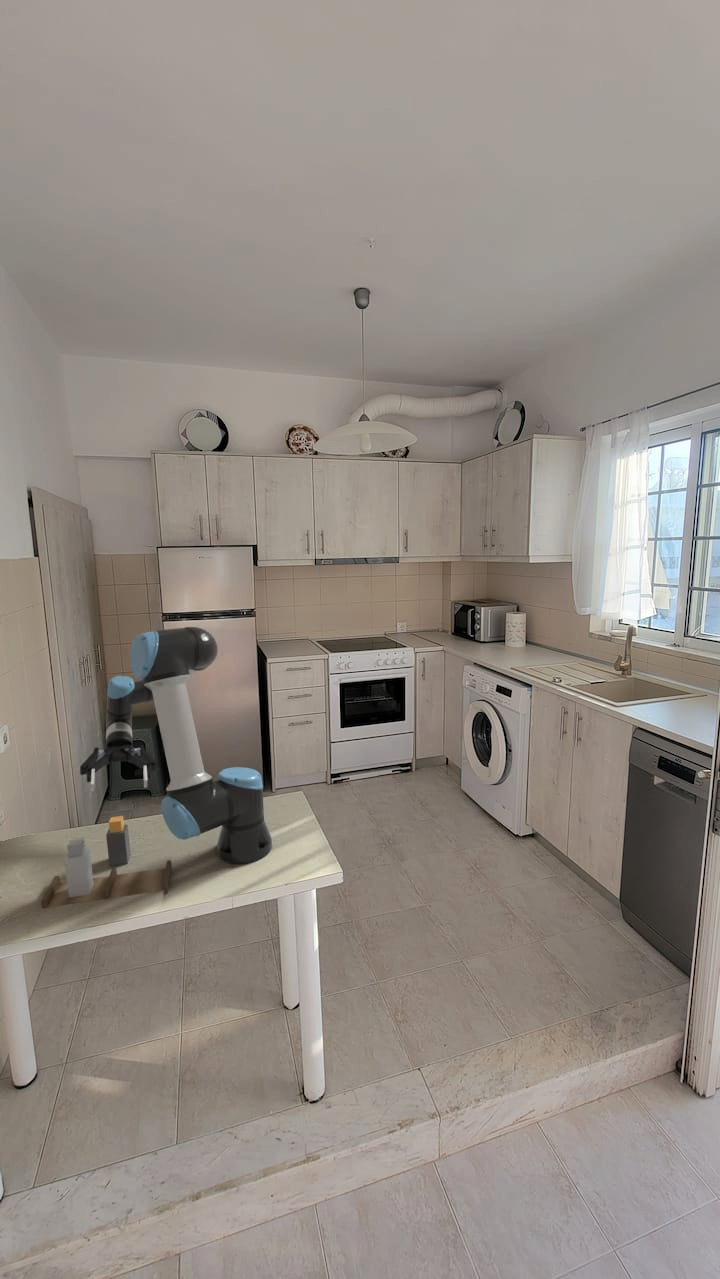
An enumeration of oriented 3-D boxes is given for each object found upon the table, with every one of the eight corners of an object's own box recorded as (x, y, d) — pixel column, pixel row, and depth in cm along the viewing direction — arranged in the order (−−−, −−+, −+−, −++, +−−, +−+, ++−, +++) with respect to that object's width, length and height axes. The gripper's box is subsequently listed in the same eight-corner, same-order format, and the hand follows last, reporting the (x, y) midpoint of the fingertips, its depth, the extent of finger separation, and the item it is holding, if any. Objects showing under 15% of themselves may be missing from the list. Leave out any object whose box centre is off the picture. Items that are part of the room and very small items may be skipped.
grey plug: (93, 883, 139) (88, 836, 136) (89, 894, 134) (83, 845, 132) (74, 886, 138) (68, 838, 135) (68, 897, 133) (62, 848, 131)
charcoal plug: (131, 858, 152) (126, 814, 150) (127, 867, 147) (123, 822, 145) (113, 860, 151) (108, 816, 149) (109, 869, 146) (105, 824, 144)
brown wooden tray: (172, 870, 145) (171, 860, 145) (167, 893, 136) (166, 882, 135) (56, 887, 139) (54, 876, 139) (42, 911, 130) (41, 900, 129)
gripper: (161, 747, 177) (166, 792, 159) (73, 752, 166) (68, 800, 149) (162, 728, 174) (168, 771, 156) (73, 731, 163) (68, 778, 146)
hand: (119, 786), depth 152 cm, fingers open, 13 cm apart
